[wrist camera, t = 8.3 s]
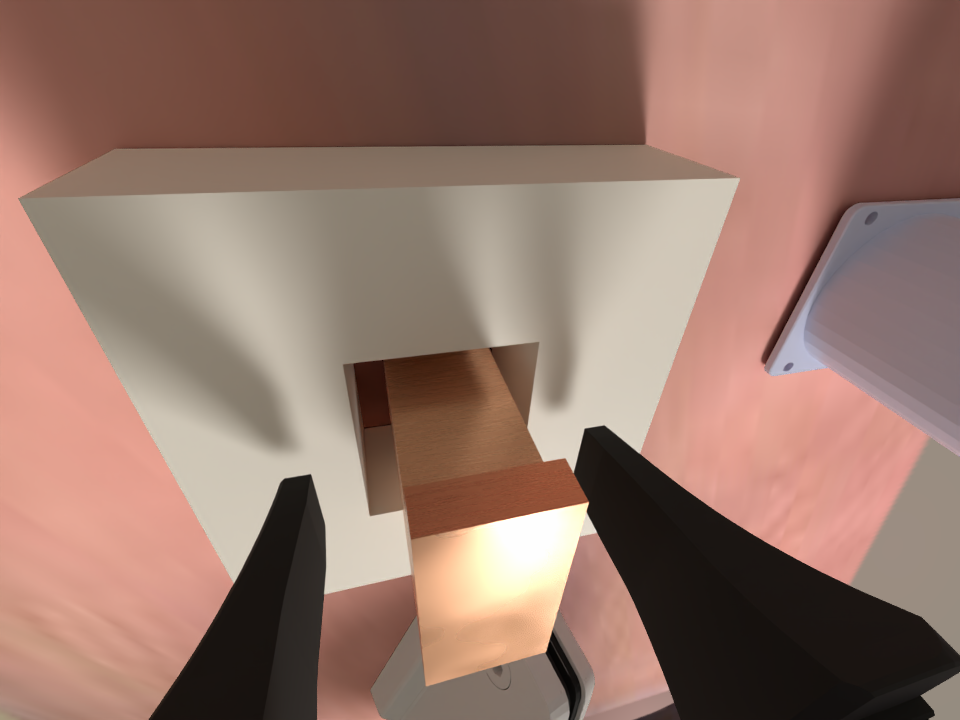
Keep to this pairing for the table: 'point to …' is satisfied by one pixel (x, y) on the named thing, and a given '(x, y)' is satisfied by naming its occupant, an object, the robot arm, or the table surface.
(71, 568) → the table surface
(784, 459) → the table surface
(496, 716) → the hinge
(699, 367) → the table surface
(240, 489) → the well block
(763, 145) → the table surface
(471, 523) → the t-shaped block
